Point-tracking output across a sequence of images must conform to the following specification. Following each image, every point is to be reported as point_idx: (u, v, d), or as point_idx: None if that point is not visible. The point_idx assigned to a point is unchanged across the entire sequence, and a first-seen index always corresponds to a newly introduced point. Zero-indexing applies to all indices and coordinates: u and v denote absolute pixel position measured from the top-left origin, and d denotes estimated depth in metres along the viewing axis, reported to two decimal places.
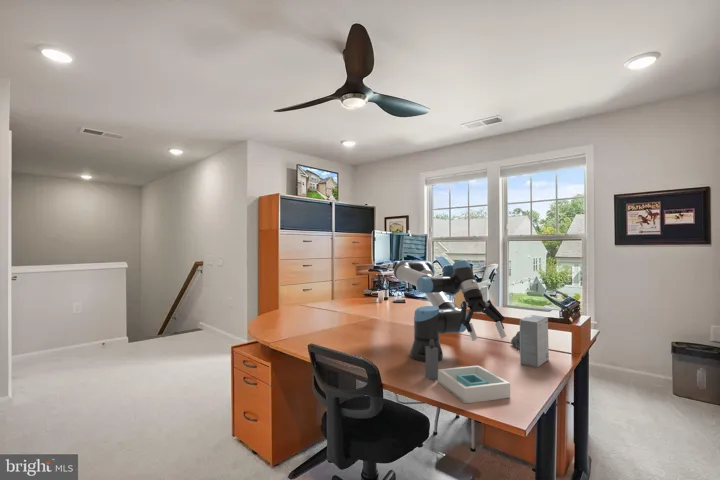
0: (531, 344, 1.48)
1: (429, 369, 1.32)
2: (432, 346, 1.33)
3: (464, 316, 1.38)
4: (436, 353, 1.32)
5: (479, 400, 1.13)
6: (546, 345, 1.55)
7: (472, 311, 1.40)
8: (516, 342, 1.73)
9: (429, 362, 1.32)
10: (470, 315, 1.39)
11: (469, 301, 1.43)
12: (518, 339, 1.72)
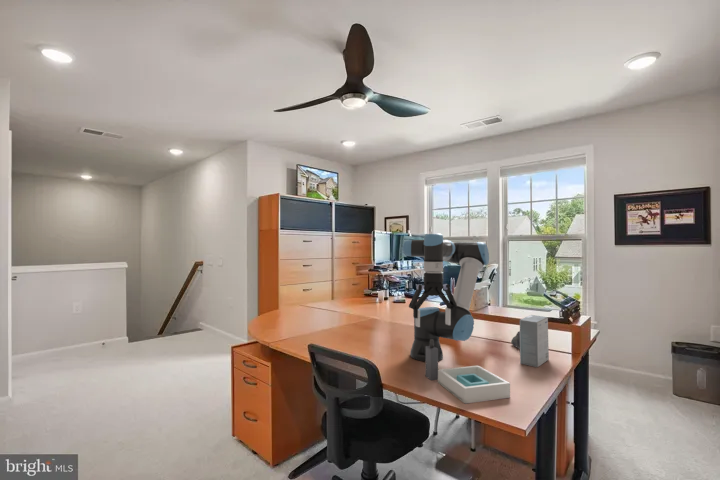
0: (531, 344, 1.48)
1: (429, 369, 1.32)
2: (432, 346, 1.33)
3: (414, 302, 1.31)
4: (436, 353, 1.32)
5: (479, 400, 1.13)
6: (546, 345, 1.55)
7: (425, 297, 1.32)
8: (516, 342, 1.73)
9: (429, 362, 1.32)
10: (421, 301, 1.32)
11: (426, 285, 1.33)
12: (518, 339, 1.72)
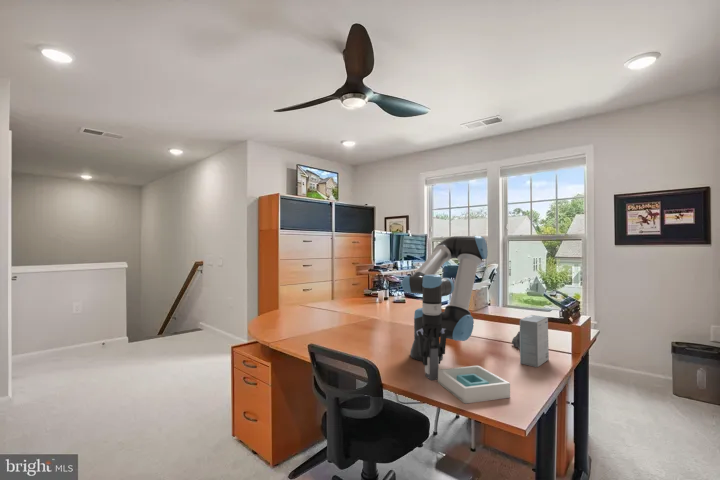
0: (531, 344, 1.48)
1: None
2: (432, 346, 1.33)
3: (422, 350, 1.31)
4: (436, 353, 1.32)
5: (479, 400, 1.13)
6: (546, 345, 1.55)
7: (428, 341, 1.32)
8: (516, 342, 1.73)
9: None
10: (427, 347, 1.32)
11: (424, 328, 1.32)
12: (518, 339, 1.72)
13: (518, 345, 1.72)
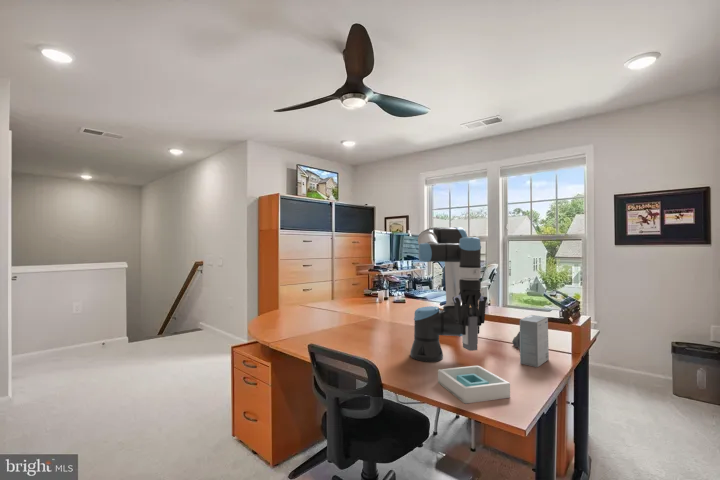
0: (531, 344, 1.48)
1: None
2: (470, 314, 1.23)
3: (460, 317, 1.21)
4: (475, 321, 1.22)
5: (479, 400, 1.13)
6: (546, 345, 1.55)
7: (467, 308, 1.22)
8: (517, 342, 1.73)
9: None
10: (465, 315, 1.22)
11: (462, 294, 1.22)
12: (519, 339, 1.72)
13: (518, 345, 1.72)
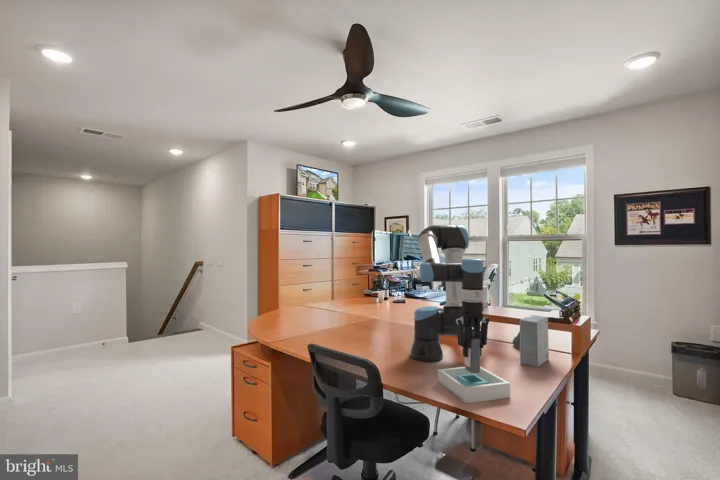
0: (531, 344, 1.48)
1: None
2: (473, 336, 1.22)
3: (462, 340, 1.21)
4: (478, 344, 1.21)
5: (479, 400, 1.13)
6: (546, 345, 1.55)
7: (469, 331, 1.21)
8: (517, 342, 1.73)
9: None
10: (468, 337, 1.21)
11: (464, 316, 1.21)
12: (519, 339, 1.72)
13: (518, 345, 1.72)
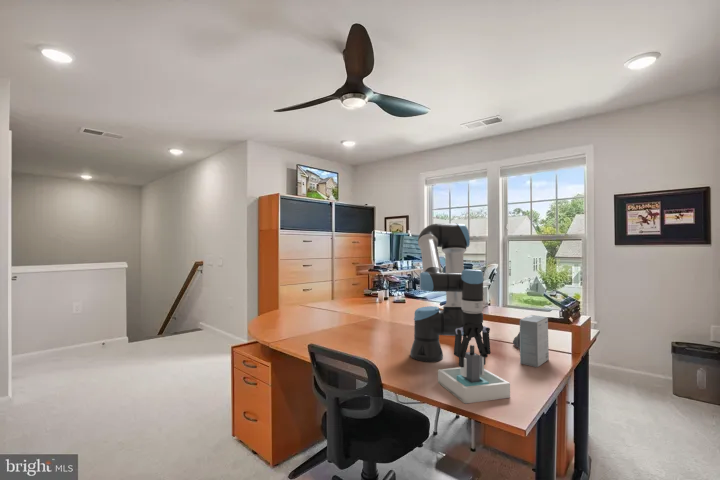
0: (531, 344, 1.48)
1: (469, 378, 1.21)
2: (473, 352, 1.22)
3: (459, 350, 1.20)
4: (477, 360, 1.21)
5: (479, 400, 1.13)
6: (546, 345, 1.55)
7: (467, 341, 1.21)
8: (517, 342, 1.73)
9: (470, 370, 1.21)
10: (465, 348, 1.21)
11: (464, 327, 1.21)
12: (519, 339, 1.73)
13: (519, 345, 1.72)
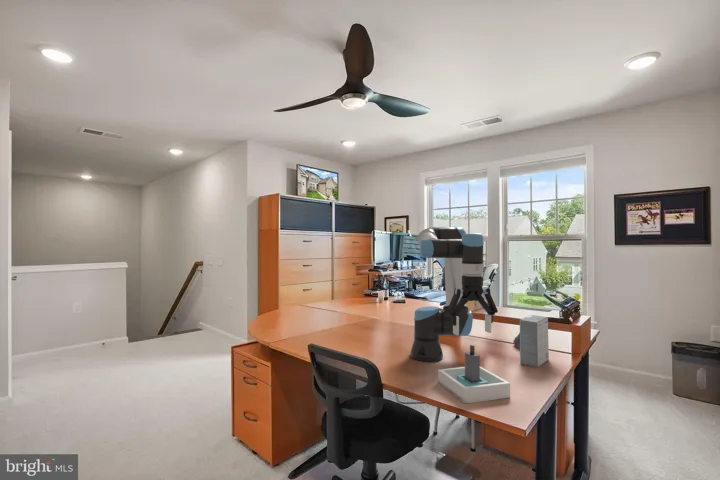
0: (531, 344, 1.48)
1: (469, 378, 1.21)
2: (473, 352, 1.22)
3: (453, 308, 1.20)
4: (477, 360, 1.21)
5: (479, 400, 1.13)
6: (546, 345, 1.55)
7: (464, 302, 1.21)
8: (517, 342, 1.73)
9: (470, 370, 1.21)
10: (460, 307, 1.21)
11: (465, 289, 1.22)
12: (519, 339, 1.73)
13: (519, 345, 1.72)
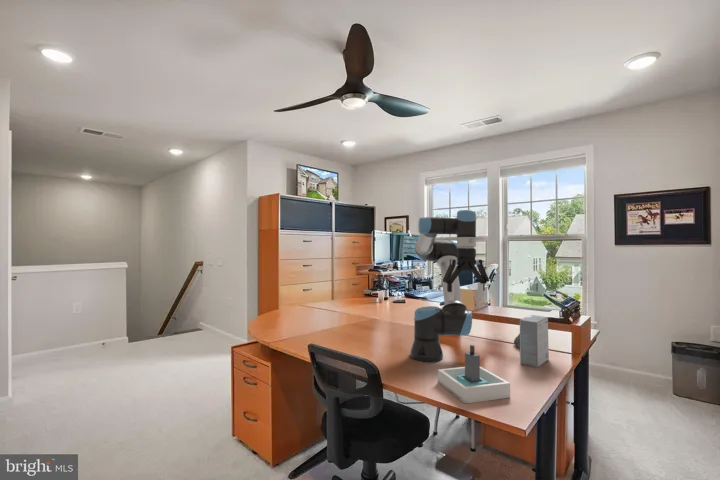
0: (531, 344, 1.48)
1: (469, 378, 1.21)
2: (473, 352, 1.22)
3: (449, 277, 1.34)
4: (477, 360, 1.21)
5: (479, 400, 1.13)
6: (546, 345, 1.55)
7: (459, 271, 1.35)
8: (518, 342, 1.73)
9: (470, 370, 1.21)
10: (455, 276, 1.35)
11: (460, 260, 1.36)
12: None
13: (519, 345, 1.72)
